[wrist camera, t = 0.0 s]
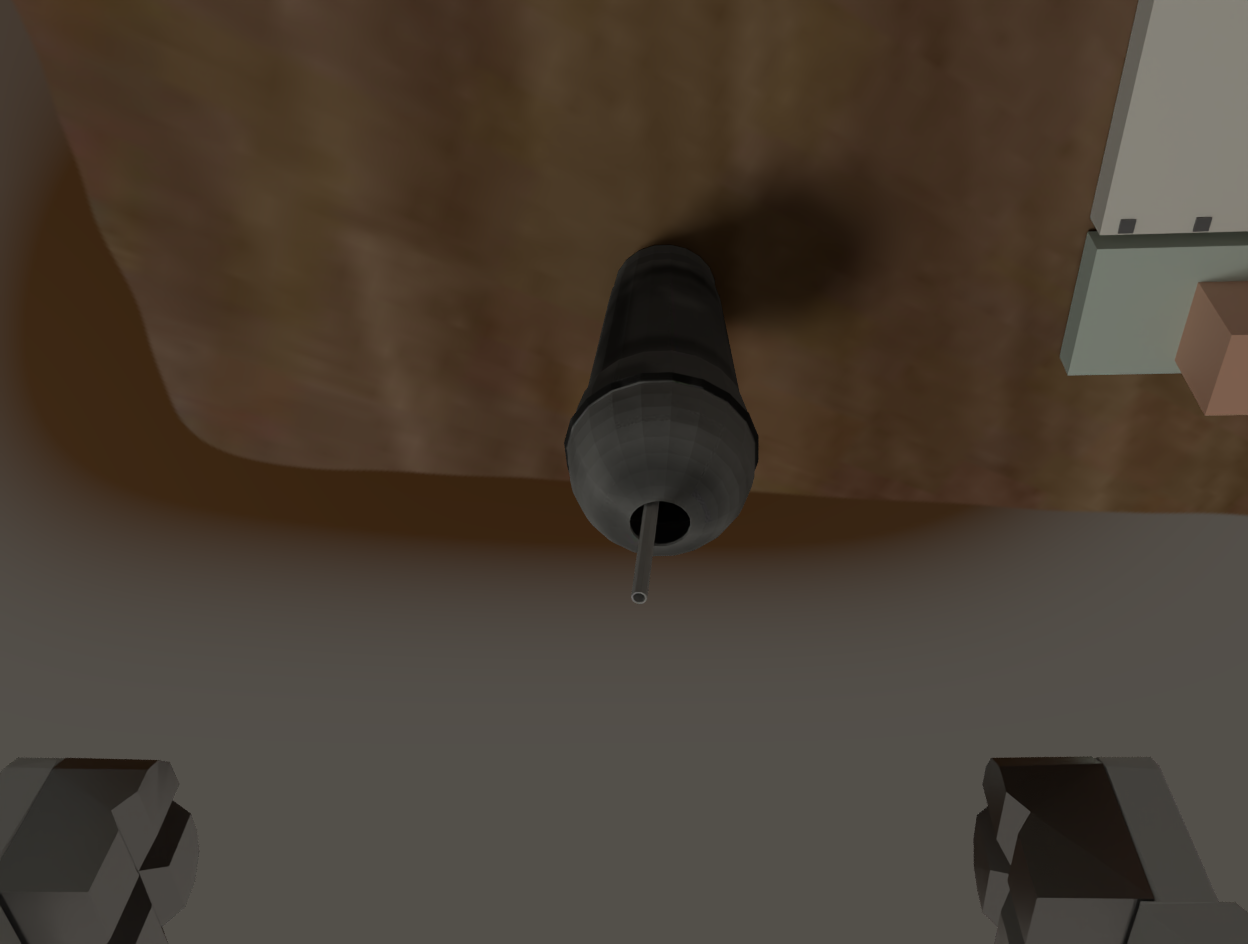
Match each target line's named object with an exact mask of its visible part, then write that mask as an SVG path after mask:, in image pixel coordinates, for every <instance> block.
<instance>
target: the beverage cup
mask: <svg viewBox="0 0 1248 944" xmlns="http://www.w3.org/2000/svg"><path fill="white" fill-rule="evenodd" d="M564 445H565V452H566V460H567V467H568V470H569V473H570V481H571V486H572V489H573V493H574V495H575V497H576V499H577V501H578V503H579V505H580V506H581V508H582V510H583V512H584V513H585V515H586V517H587V518H588V520H589V521H590V522H591V524H592V525H593V526H594V527H595V528H596V529H598V530H599V531H600V532H601V533H602V534H603V535H604V536H606V537H607V538H608V539H609V540H610V541H612V542H614V543H616V544H618V545H620V546H622V547H624V548H626V549H629V550H630V551H632V552H637V559H636V566H635V573H634V580H633V588H632V595H631V597H632V601H634V602H636V603H637V604H641V603H644V602H645V601H646V600H647V595H648V587H649V579H650V572H651V564H652V556H668V555H669V556H671V555H678V554H681V553H685V552H689V551H693V550H695V549H697V548H699V547H701V546H703V545H704V544H706V543H708V542H710V541H711V540H713V539H715V538H717V537H718V536H719V535H720V534H721V533H722V532H723V531H724V530H725V529H726V528H727V527H728V526H729V525H730V523H732V521H733V520H734V519H735V518H736V517H737V516H738V515H739V513H740V511H741V509H742V508H743V505H744V503H745V501H746V498H747V496H748V494H749V491H750V489H751V487H752V483H753V479H754V471H755V468H756V466H757V463H758V434H757V432H756V429H755V427H754V424H753V422H752V420H751V417H750V415H749V413H748V412H747V409H746V407H745V404H744V402H743V400H742V397H741V395H740V392H739V388H738V383H737V378H736V374H735V369H734V364H733V359H732V354H731V349H730V344H729V340H728V335H727V330H726V325H725V320H724V315H723V311H722V306H721V301H720V297H719V295H718V292H717V290H716V287H715V280H714V278H713V275H712V273H711V270H710V268H709V266H708V265H707V264H706V263H705V262H704V261H703V260H702V259H701V257H700V256H698V255H696V254H695V253H693V252H691V251H689V250H688V249H686V248H682V247H678V246H673V245H654V246H651V247H648V248H645V249H642V250H639V251H638V252H637V253H635V254H634V255H632V256H631V257H630V258H628V259H627V260H626V261H625V263H624V264H623V265H622V267H621V268H620V270H619V271H618V274H617V278H616V281H615V286H614V287H613V289H612V292H611V296H610V299H609V303H608V307H607V311H606V315H605V319H604V323H603V328H602V332H601V336H600V340H599V344H598V348H597V352H596V356H595V360H594V365H593V369H592V373H591V377H590V381H589V385H588V388H587V389H586V390H585V392H584V394H583V396H582V399H581V401H580V403H579V405H578V408H577V411H576V413H575V414H574V416H573V417H572V418H571V420H570V424H569V427H568V431H567V434H566V438H565V442H564Z"/></svg>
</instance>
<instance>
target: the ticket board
mask: <svg viewBox="0 0 1248 944" xmlns="http://www.w3.org/2000/svg"><path fill="white" fill-rule="evenodd" d="M1090 219H1091V220H1092V222H1093V224H1094V226H1095V228H1096V230H1097V231H1098V233H1099V235H1127V234H1165V233H1202V232H1240V231H1248V0H1139V1H1138V6H1137V10H1136V15H1135V19H1134V24H1133V28H1132V33H1131V37H1130V41H1129V46H1128V50H1127V55H1126V59H1125V64H1124V68H1123V73H1122V77H1121V82H1120V86H1119V90H1118V95H1117V99H1116V104H1115V108H1114V113H1113V117H1112V122H1111V126H1110V131H1109V135H1108V140H1107V144H1106V148H1105V153H1104V157H1103V162H1102V166H1101V171H1100V175H1099V180H1098V184H1097V189H1096V193H1095V197H1094V202H1093V206H1092V211H1091V215H1090Z"/></svg>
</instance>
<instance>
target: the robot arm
mask: <svg viewBox="0 0 1248 944" xmlns="http://www.w3.org/2000/svg"><path fill="white" fill-rule="evenodd" d="M178 786H179V782H178V779H177V777H176V775H175V773H174V771H173V768H172V766H171V764H170V762H167V761H161V760H132V759H92V758H19V757H18V758H17V759H16V760H14V761H13V762H11V763H10V764H9V765H7V766H6V767H5V768H4V769H3V770H2V771H1V773H0V944H168V941H167V939H166V936H165V933H164V930H163V928H162V926H163V925H165V924H166V923H167V922H168V921H169V920H170V919H172V918H173V917H174V916H175V915H176V914H177V913H179V912H180V911H181V910H182V909H183V908H184V907H185V906H186V904H187V901H188V898H189V895H190V893H191V890H192V887H193V885H194V882H195V877H196V870H197V863H198V856H199V845H198V836H197V829H196V826H195V824H194V821H193V818H192V815H191V813H189V812H188V811H187V810H185V809H184V808H183V807H181V806H180V805H178V804H177V803H176V802H174V801H173V798H174V795H175V793H176V791H177V789H178ZM983 789H984V793H985V796H986V800H987V804H988V806H987V807H986V808H985V809H984V810H982V811H981V812H980V813H979V814H978V815H977V817H976V824H975V831H974V839H973V843H974V844H973V845H974V871H975V878H976V885H977V891H978V895H979V900H980V904H981V908H982V912H983V913H984V914H985V915H986V916H987V917H988V918H989V919H990V920H991V921H992V922H993V923H994V924H995V925H996V926H997V927H998V928H997V933H996V938H995V943H994V944H1248V912H1247V911H1245V910H1244V909H1243V908H1242V907H1240V906H1239V905H1238V904H1237V903H1234V902H1219V901H1218V899H1217V896H1216V894H1215V892H1214V889H1213V888H1212V885H1211V882H1210V880H1209V878H1208V876H1207V874H1206V871H1205V869H1204V866H1203V864H1202V862H1201V860H1200V858H1199V855H1198V853H1197V851H1196V848H1195V846H1194V844H1193V841H1192V839H1191V837H1190V835H1189V832H1188V830H1187V828H1186V825H1185V823H1184V821H1183V819H1182V816H1181V814H1180V812H1179V809H1178V807H1177V805H1176V803H1175V800H1174V798H1173V796H1172V793H1171V791H1170V789H1169V787H1168V784H1167V782H1166V780H1165V778H1164V775H1163V773H1162V771H1161V768H1160V766H1159V765H1158V764H1157V763H1156V762H1155V761H1154V760H1153V759H1152V758H1151V757H1097V758H1093V757H1025V758H1024V757H1021V758H991V759H990V761H989V762H988V764H987V766H986V769H985V774H984V779H983Z"/></svg>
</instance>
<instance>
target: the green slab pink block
mask: <svg viewBox="0 0 1248 944" xmlns="http://www.w3.org/2000/svg"><path fill="white" fill-rule="evenodd" d="M1060 358H1061V361H1062V363H1063V365H1064V368H1065V370H1066V372H1067V375H1112V374H1163V373H1182V375H1183V377H1184V378H1185V380H1186V382H1187V384H1188V386H1189V388H1190V389H1191V391H1192V393H1193V395H1194V397H1195V398H1196V400H1197V402H1198V404H1199V406H1200V407H1201V409H1202V411H1203V413H1204V415H1248V231H1240V232H1202V233H1165V234H1127V235H1099V233H1098V231H1090V232H1088V233H1087V237H1086V241H1085V246H1084V250H1083V255H1082V259H1081V264H1080V268H1079V273H1078V277H1077V282H1076V286H1075V290H1074V295H1073V299H1072V304H1071V308H1070V313H1069V317H1068V322H1067V326H1066V330H1065V335H1064V339H1063V344H1062V348H1061V353H1060Z"/></svg>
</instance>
